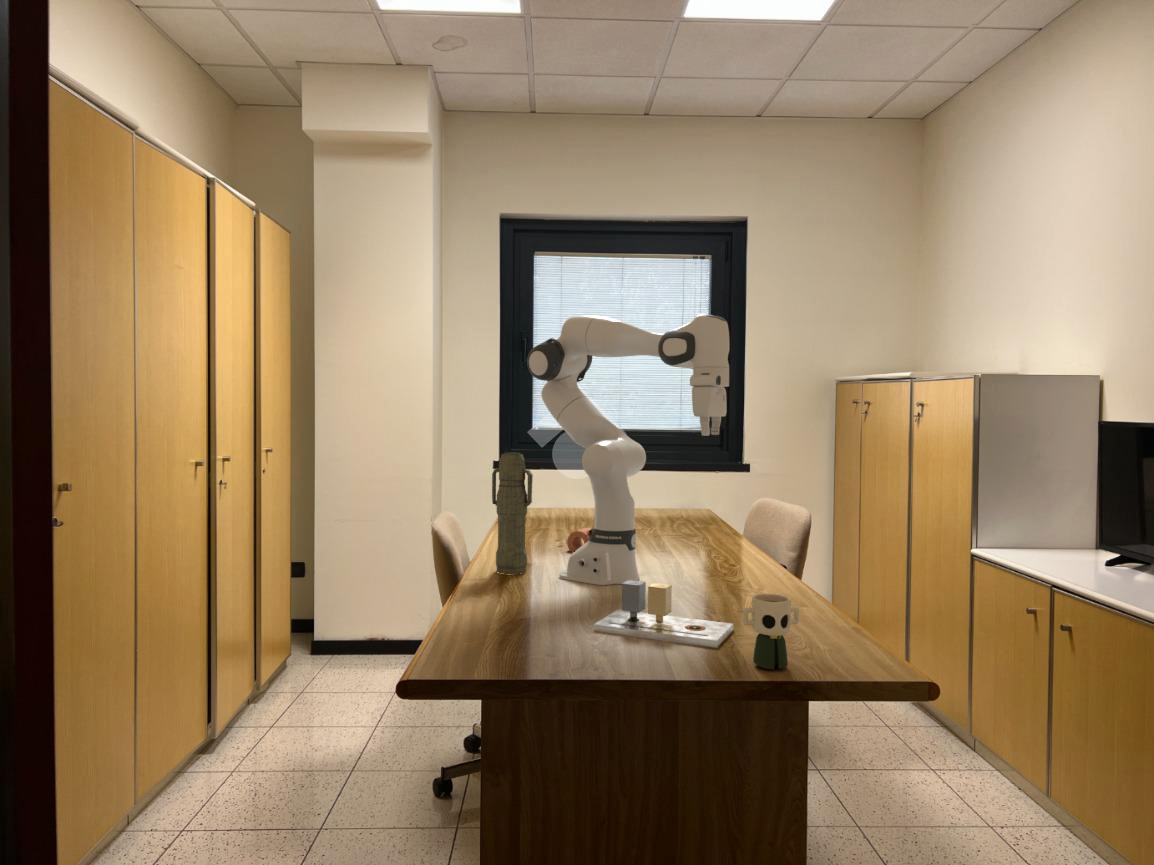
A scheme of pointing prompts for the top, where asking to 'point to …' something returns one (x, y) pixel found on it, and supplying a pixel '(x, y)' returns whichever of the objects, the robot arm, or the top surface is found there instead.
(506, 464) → the brown tall vase
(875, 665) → the top surface
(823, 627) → the top surface
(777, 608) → the character mug
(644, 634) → the bolt plate
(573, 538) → the crank
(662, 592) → the wooden block peg
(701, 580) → the top surface
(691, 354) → the robot arm
